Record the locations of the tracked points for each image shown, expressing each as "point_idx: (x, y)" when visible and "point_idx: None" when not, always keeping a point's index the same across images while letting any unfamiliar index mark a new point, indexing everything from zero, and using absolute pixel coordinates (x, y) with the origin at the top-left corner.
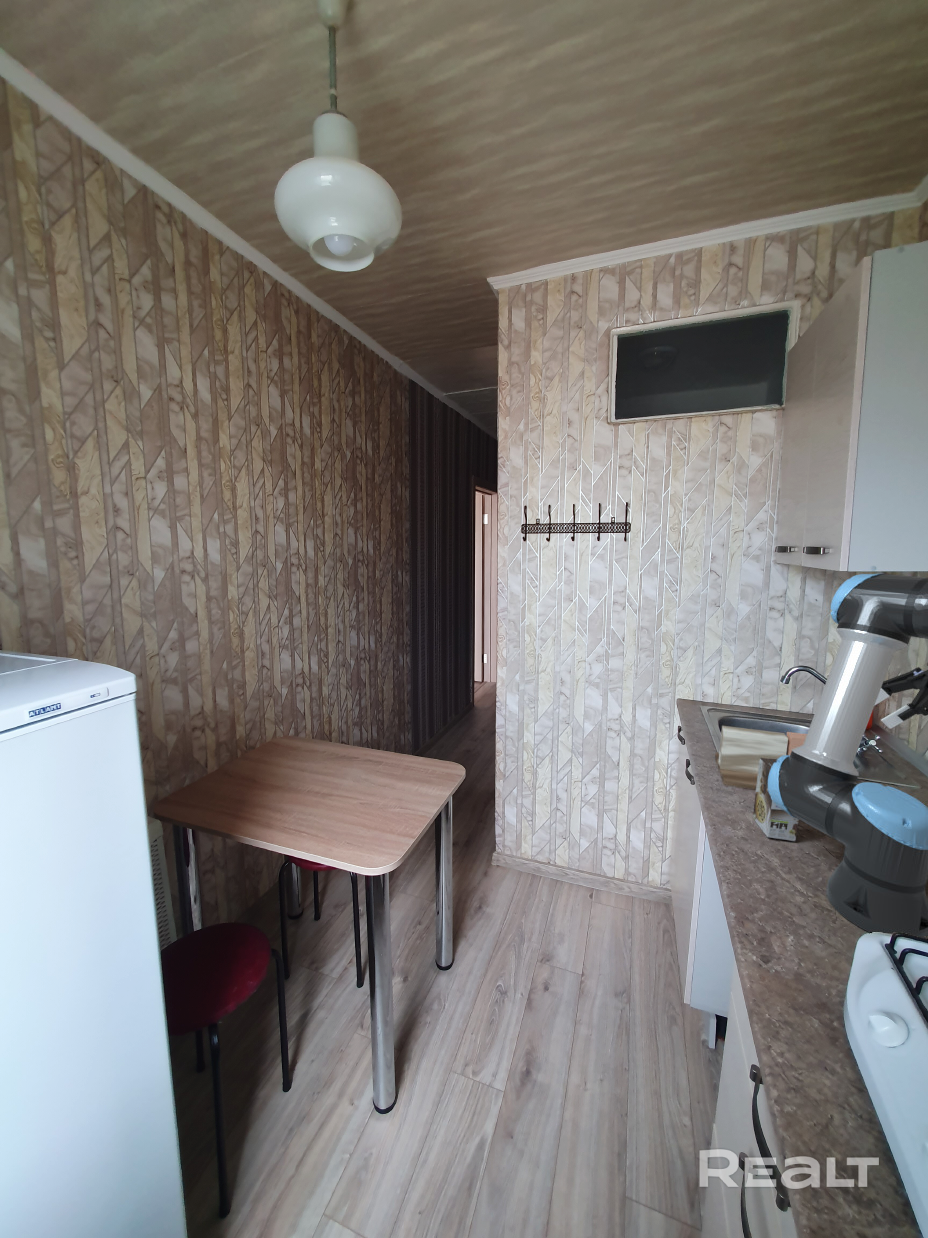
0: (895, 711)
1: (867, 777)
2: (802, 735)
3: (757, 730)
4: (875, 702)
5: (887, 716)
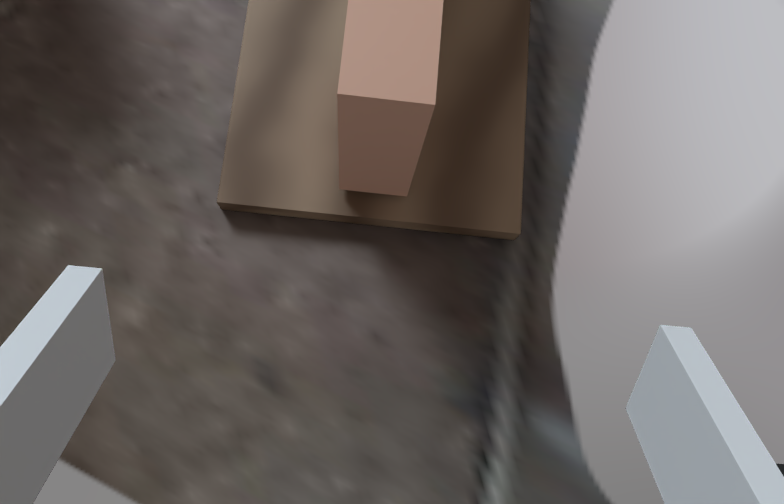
0: (8, 386)
1: (520, 480)
2: (409, 1)
3: None
4: (674, 488)
5: (58, 313)
